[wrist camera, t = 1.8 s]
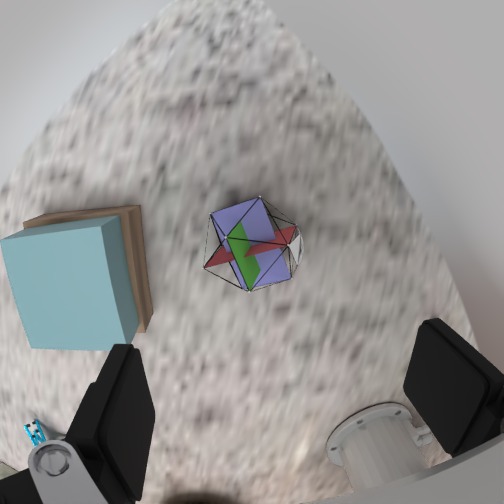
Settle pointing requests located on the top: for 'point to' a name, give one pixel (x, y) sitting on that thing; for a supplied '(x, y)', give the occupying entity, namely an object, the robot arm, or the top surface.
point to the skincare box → (6, 471)
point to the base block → (132, 244)
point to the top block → (72, 284)
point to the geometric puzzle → (253, 244)
